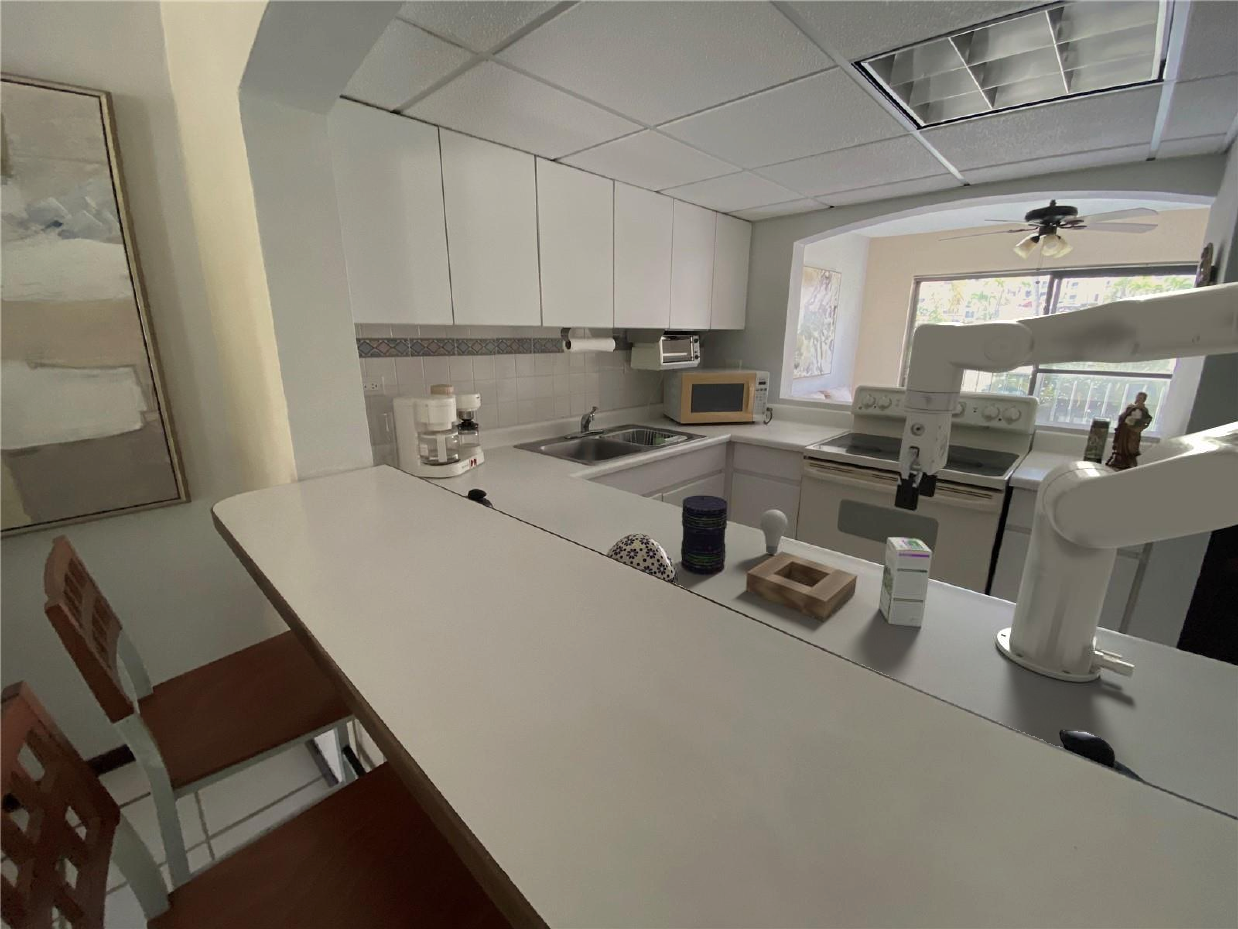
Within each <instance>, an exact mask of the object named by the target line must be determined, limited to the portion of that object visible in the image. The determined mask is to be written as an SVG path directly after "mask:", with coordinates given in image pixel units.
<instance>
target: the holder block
mask: <svg viewBox="0 0 1238 929" xmlns="http://www.w3.org/2000/svg"><path fill="white" fill-rule="evenodd" d="M857 578H858V575H857V574H854V573H851V572H848V571H845V570H841V569H839V568H835V567H832V566H829V565H825V564H823V563H819V562H817V561H814V560H811V559H807V558H804V557H801V556H798V555H794V554H792V553H788V552H785V551H780V552H777V553H776V554H774V555H772V556H771V557H770V558H768V559H767V560H765V561H763V562H762V563H759V564H758V565H757V566H755V567H753V568H752V569H750V570H748V571H747V572H746V582H745V583H746V584H745V585H746V586H745V590H746V591H747V592H749V593H752V594H755V595H757V596H760V597H762V598H764V599H767V600H769V601H771V602H775V603H777V604H779V605H782V606H784V607H787V608H789V609H791V610H795V611H797V612H800V613H802V614H804V613H805V615H807V614H808V615H807V616H809V615H810V617H812V616H814V617H815V619H817V618H818V619H817V620H819V619H821V620H820V621H822V620H825V619H826V620H827V619H829V617H831V616H832V615H833V614H834V613H835V612H836V611H837V610H838V609H840V608H841V607H842V606H843V605H844V604H845V603H846V602H848V601H849V600H850V599H851V598H852V597H853V596H854V595H855V594H856V588H857V587H856V585H857ZM802 582H803V583H802ZM805 583H806V584H805ZM810 585H812V586H810ZM854 593H855V594H854ZM853 594H854V595H853ZM852 595H853V596H852ZM851 596H852V597H851ZM850 597H851V598H850ZM844 602H845V603H844ZM843 603H844V604H843ZM841 605H842V606H841ZM832 613H833V614H832ZM831 614H832V615H831ZM814 617H813V618H814ZM826 620H825V621H826Z"/></svg>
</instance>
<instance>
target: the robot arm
mask: <svg viewBox="0 0 1238 929" xmlns="http://www.w3.org/2000/svg"><path fill="white" fill-rule="evenodd" d="M912 337H913V338H912V344H911V345H912V346H911V351H910V357H909V365H908V370H907V372H908V373H907V379H906V385H905V392H904V399H903V406H902V410H903V411H907V415H906V421H905V423H904V424H905V425H904V428H903V434H902V440H901V445H900V446H901V447H900V452H899V459H898V468H900V471H899V473H898V480H897V486H896V492H895V497H894V498H895V499H894V507H896V508H898V509H899V508H900V509H902V510H908V511H911V512H915V511H917V510H918V504H919V498H920V496H921V497H927V498H933V497H934V496H935V494H936V487H937V483H938V482H937V481H938V476H939V475H938V473H939V471H940V470H941V469H943V468H944V467H946V465H947V462H948V456H949V455H948V453H949V446H950V438H951V437H950V436H951V430H952V428H951V427H952V415H953V414H957V413H958V407H959V402H960V396H961V395H960V394H961V390H962V385H963V380H964V379H963V378H964V374H965V373H964V372H965V370H970V371H976V372H983V373H988V374H989V373H990V374H1003V373H1008V372H1012V371H1014V370H1017V369H1018V368H1020V367H1030V366H1032V367H1033V366H1039V365H1040V366H1041V365H1049V364H1050V365H1052V364H1063V363H1064V364H1066V363H1083V362H1084V363H1102V364H1103V363H1105V364H1123V363H1124V364H1126V363H1142V362H1150V361H1151V362H1152V361H1162V360H1171V359H1181V358H1192V357H1203V356H1215V355H1224V354H1234V353H1235V354H1236V353H1238V281H1235V282H1228V283H1227V282H1226V283H1220V284H1215V285H1208V286H1202V287H1194V288H1188V289H1182V290H1181V289H1180V290H1175V291H1167V292H1162V293H1160V292H1159V293H1154V294H1147V295H1140V296H1133V297H1128V298H1122V299H1118V300H1114V301H1109V302H1107V303H1103V304H1100V305H1095V306H1092V307H1087V308H1082V309H1077V310H1071V311H1065V312H1059V313H1053V314H1052V313H1051V314H1046V315H1039V316H1032V317H1025V318H1024V317H1023V318H1018V319H1012V320H1011V319H1010V320H1008V319H1007V320H1006V319H1005V320H1004V319H1003V320H995V321H987V322H980V323H979V322H978V323H970V324H969V323H968V324H967V323H966V324H965V323H962V322H927V323H923V324H920V325H918V326H917V327H916V328H915V330H914V333H913V336H912ZM1035 498H1036V499H1035V505H1034V514H1033V522H1032V527H1031V534H1030V538H1029V539H1030V540H1029V545H1028V549H1027V554H1026V557H1025V562H1024V566H1023V571H1022V575H1021V580H1020V581H1021V582H1020V585H1019V591H1018V595H1017V599H1016V604H1015V608H1014V611H1013V612H1014V613H1013V618H1012V621H1011V627H1007V628H1004V629H1001V630H999V632H997V636H996V637H995V638H996V640H995V643H996V647H998V649H999V650H1000V651H1001V652H1002V654H1004V655H1005V656H1006V657H1007V658H1009V659H1010V660H1012V661H1013V662H1014V663H1017V664H1018V665H1020V666H1021V667H1024V668H1026V669H1028V670H1029V671H1033V672H1035V673H1036V674H1037V673H1038V674H1039V675H1043V676H1046V677H1049V678H1054V679H1057V680H1061V681H1067V682H1074V683H1075V682H1079V683H1082V682H1083V683H1084V682H1091V681H1094V680H1096V679H1098V678H1099V677H1100V675H1101V671H1102V669H1104V670H1107V671H1110V672H1113V673H1114V674H1117V675H1122V676H1123V677H1126V678H1129V679H1131V678H1132V676H1133V672H1134V666H1135V665H1134V664H1132V663H1129V662H1126V661H1122V658H1123V655H1122V654H1119V653H1116V652H1112V651H1108V650H1104V649H1101V646H1098V645H1096V643H1097V637H1096V633H1097V629H1098V625H1099V621H1100V617H1101V613H1102V609H1103V606H1104V601H1105V598H1106V594H1107V590H1108V586H1109V582H1110V580H1111V579H1110V578H1111V576H1112V572H1113V568H1114V565H1115V561H1116V556H1117V551H1118V548H1123V547H1124V548H1125V547H1130V546H1136V545H1137V546H1138V545H1142V544H1147V543H1148V544H1149V543H1154V542H1159V541H1164V540H1169V539H1175V538H1180V537H1185V536H1190V535H1196V534H1200V533H1202V534H1203V533H1206V532H1211V531H1216V530H1221V529H1224V528H1230V527H1232V526H1236V525H1238V421H1235V422H1231V423H1227V424H1224V425H1220V426H1216V427H1213V428H1209V429H1206V430H1201V431H1197V432H1194V433H1189V434H1185V435H1181V436H1178V437H1177V436H1176V437H1173V438H1170V439H1167V440H1163V441H1160V442H1158V443H1156V444H1154V445H1152V446H1150V447H1149V448H1147V449H1146V450H1145V451H1144V452H1143V453H1142V454H1141V456H1140V457H1139V459H1138V461H1137V464H1136V466H1135V467H1130V468H1127V469H1123V470H1119V471H1115V470H1114V469H1112V468H1110V467H1108V466H1107V465H1104V464H1102V463H1098V462H1095V461H1087V460H1075V461H1070V462H1069V461H1068V462H1066V463H1063V464H1060V465H1058V466H1055V467H1054V468H1053V469H1052V470H1050V471H1049V472H1048V473H1046V474H1045V476H1044V477H1043V478H1042V480H1041V482H1040V483H1039V486H1038V489H1037V493H1036V497H1035Z"/></svg>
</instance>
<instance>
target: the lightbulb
mask: <svg viewBox="0 0 1238 929" xmlns="http://www.w3.org/2000/svg"><path fill="white" fill-rule="evenodd" d="M788 522H789V521H788V518H787V516H786V515H785V514H784V513H783V512H782V511H781V510H778V509H769V510H766V511H765V512H763V513H762V515H761V517H760V519H759V524H760V525H759V526H760V528H761V530H762V533H763V534H764V535H763V536H764V539H765V540H764V542H765V545H766V546H765V552H766V553H767V554H768V555H771V556H774V555H776V554H778V549H779V545H780V543H781V542H780V541H781V538H782V536H783V534H784V533H785V532H786V530H787V528H788V525H789V524H788Z"/></svg>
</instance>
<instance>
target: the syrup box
mask: <svg viewBox="0 0 1238 929" xmlns="http://www.w3.org/2000/svg"><path fill="white" fill-rule="evenodd" d="M932 557H933V551H932V550H931V549H930V548H929V547H928V546H927V545H926V544H925V543H924V541H923V540H921V539H919V538H915V537H914V538H911V537H904V536H902V537H900V536H899V537H895V536H893V537H887V538H886V548H885V556H884V564H883V571H882V572H883V573H882V579H881V580H882V581H881V590H880V596H879V605H878V608H879V610H880V612H881V613H882V615H883V616H884V619H885V621H886V622H887V624H890V625H896V626H897V625H898V626H905V627H906V626H907V627H917V628H918V627H919V628H921V627H922V626H923V620H924V615H925V614H924V612H925V608H926V600H927V593H928V588H929V587H928V586H929V585H928V584H929V578H930V573H931V572H930V571H931V565H932Z"/></svg>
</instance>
